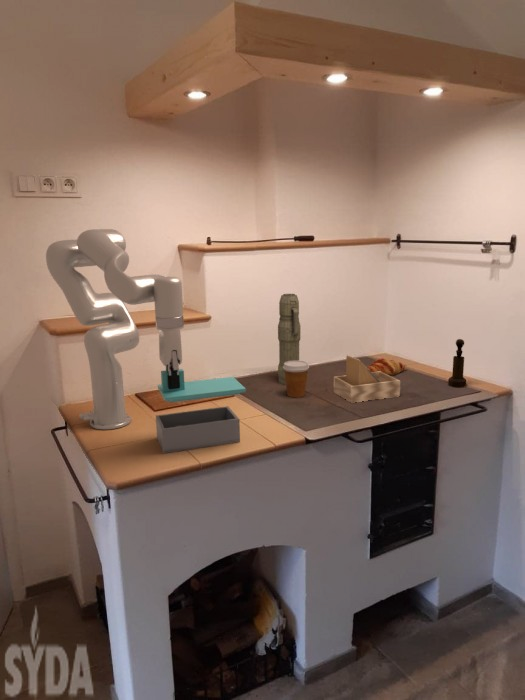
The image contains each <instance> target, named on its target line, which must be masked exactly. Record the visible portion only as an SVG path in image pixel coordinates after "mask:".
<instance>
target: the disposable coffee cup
mask: <svg viewBox="0 0 525 700" xmlns="http://www.w3.org/2000/svg"><path fill="white" fill-rule="evenodd" d="M283 368H284V372H285V380H286V385H285V386H286V392H287V393H286V395H287V396H288V397H289V396H290V398H294V397H298V398H303V397H305V395H306V387H307V380H308V370H309V369H310V366H309V363H308V362H307V361H304V360H299V361H287V362H285V363H284V366H283ZM302 396H303V397H302Z"/></svg>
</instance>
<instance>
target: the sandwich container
mask: <svg viewBox="0 0 525 700" xmlns="http://www.w3.org/2000/svg"><path fill="white" fill-rule="evenodd" d="M345 359H346V364H345V366H346V368H345V371H346V373H345V375H346V382H347V383H348V384H350V385H352V386H356V385H364V384H372V383H380V381H379V380H378V379H377V378H376V377H375V376H374V375H373V374H372V373H371V372H370V371H369V369H368V368H367V367H368V366H366V365H365V364H364V363H363V362H362V361H361V360H360V359H359V358H357V357H353V356H351V355H346V358H345Z"/></svg>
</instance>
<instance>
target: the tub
mask: <svg viewBox="0 0 525 700" xmlns="http://www.w3.org/2000/svg"><path fill="white" fill-rule="evenodd" d="M155 425H156V426H155V429H156V438H157V441H158V443H159V446H160V449H161V451H162V453H163V455H165V454H170V453H175V452H176V453H177V452H183V451H189V450H196V449H197V450H198V449H203V448H204V449H205V448H209V447H214V446H216V447H217V446H222V445H223V446H224V445H229V444H235V443H240V442H241V429H240V428H241V427H240V426H241V425H240V418H239V416H237V414H236V413H235V412H234V411H233V410H232V409H231V408H230V406H228V405H226V406H218V407H211V408H204V409H203V408H202V409H195V410H186V411H179V412H172V413H164V414H157V415H155Z"/></svg>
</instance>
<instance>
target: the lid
mask: <svg viewBox="0 0 525 700" xmlns="http://www.w3.org/2000/svg"><path fill="white" fill-rule="evenodd" d="M168 375H169V374H168V370H166V369H165V370H161V371H160V378H161V381H160V382H161V384H157V389H158V391H159V392H160V395H161V397H162V398H163V400H164V402H169V403H180V402H184V401H185V402H186V401H194V400H202V399H210V398H219V397H220V398H221V397H229V396H236V395H239V394H240V393H241V394H242V393H246V392H247V389H246V387H245V386H243V384H241V383H240V382H239V381H238V379H236V378H235V376H228V377H219V378H209V379H201V380H192V381H185V371H184V369H183V368H179V378H180V388H178V389H169V388H168Z"/></svg>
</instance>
